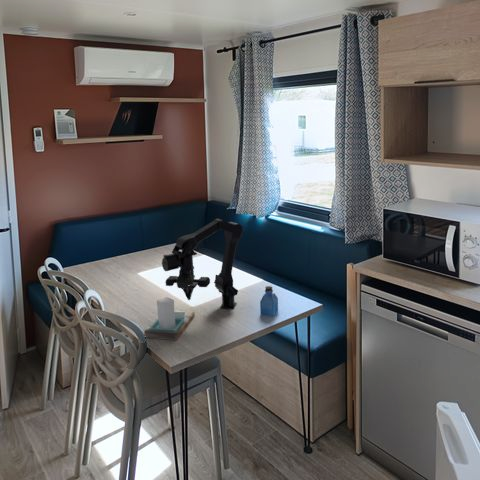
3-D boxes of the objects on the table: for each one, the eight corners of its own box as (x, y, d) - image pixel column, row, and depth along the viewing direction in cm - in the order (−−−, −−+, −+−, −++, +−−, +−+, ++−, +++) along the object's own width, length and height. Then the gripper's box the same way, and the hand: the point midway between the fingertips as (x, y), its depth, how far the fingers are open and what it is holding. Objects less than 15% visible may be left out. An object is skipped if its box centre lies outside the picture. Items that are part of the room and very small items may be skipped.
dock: (165, 314, 229) (164, 308, 228) (194, 316, 226) (194, 310, 225) (144, 337, 207) (144, 331, 206) (177, 340, 204) (177, 333, 203)
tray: (164, 318, 224) (163, 310, 223) (188, 319, 222) (188, 311, 221) (149, 334, 208) (149, 326, 207) (175, 336, 206) (175, 327, 205)
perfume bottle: (260, 314, 226) (259, 289, 223) (265, 309, 232) (264, 284, 229) (273, 316, 224) (273, 290, 221) (278, 310, 229) (277, 285, 226)
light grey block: (159, 328, 212) (156, 300, 209) (169, 324, 216) (167, 296, 212) (165, 331, 209) (163, 303, 206) (175, 328, 212) (173, 300, 209)
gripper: (159, 271, 214) (162, 306, 218) (201, 272, 210) (204, 307, 214) (168, 263, 225) (171, 296, 229) (209, 264, 221) (211, 297, 225)
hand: (189, 299), depth 224 cm, fingers closed
